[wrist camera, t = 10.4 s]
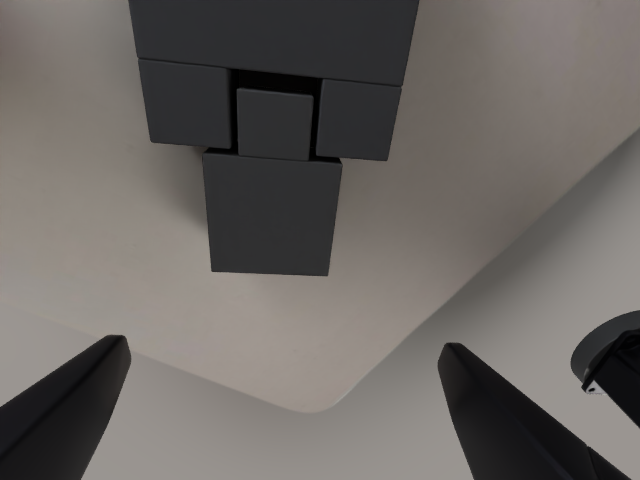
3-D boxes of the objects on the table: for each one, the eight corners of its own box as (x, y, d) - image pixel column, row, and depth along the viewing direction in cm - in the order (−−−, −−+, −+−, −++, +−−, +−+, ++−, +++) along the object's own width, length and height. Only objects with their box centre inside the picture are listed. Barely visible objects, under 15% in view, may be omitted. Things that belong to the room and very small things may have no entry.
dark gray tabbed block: (341, 94, 15) (351, 100, 13) (323, 248, 19) (328, 276, 17) (213, 81, 15) (196, 84, 12) (223, 243, 19) (211, 272, 16)
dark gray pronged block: (420, -125, 12) (455, -181, 9) (373, 147, 16) (387, 161, 14) (138, -176, 11) (87, -255, 8) (174, 130, 15) (149, 143, 13)
